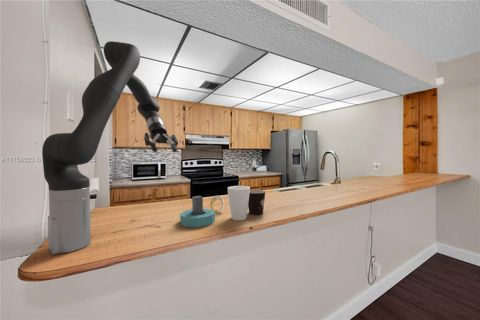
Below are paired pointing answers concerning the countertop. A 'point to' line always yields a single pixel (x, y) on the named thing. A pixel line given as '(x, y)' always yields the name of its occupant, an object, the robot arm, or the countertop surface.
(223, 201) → the bracelet
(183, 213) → the teal ring
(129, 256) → the countertop surface
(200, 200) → the gray rectangular block
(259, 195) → the coffee mug
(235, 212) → the foam cup
